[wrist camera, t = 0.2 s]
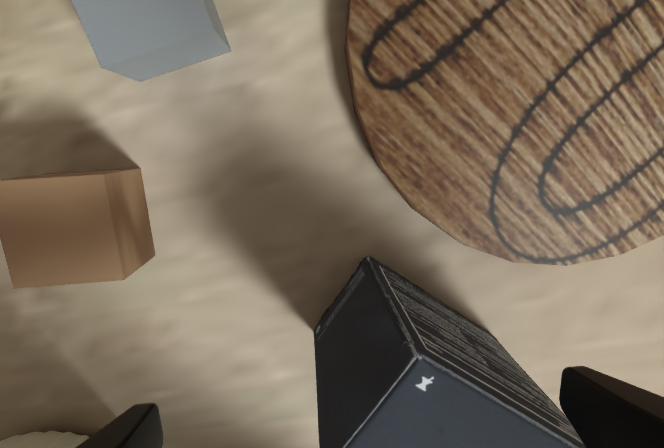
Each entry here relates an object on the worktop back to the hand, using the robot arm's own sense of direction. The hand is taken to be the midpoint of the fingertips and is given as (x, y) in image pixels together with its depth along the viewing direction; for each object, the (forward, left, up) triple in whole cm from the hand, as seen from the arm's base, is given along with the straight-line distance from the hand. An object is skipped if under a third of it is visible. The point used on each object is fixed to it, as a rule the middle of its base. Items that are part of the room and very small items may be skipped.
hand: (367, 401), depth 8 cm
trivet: (+10, -14, -15) cm, 23 cm away
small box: (-7, -4, -14) cm, 17 cm away
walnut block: (+2, +13, -14) cm, 19 cm away
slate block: (+12, +8, -14) cm, 20 cm away
